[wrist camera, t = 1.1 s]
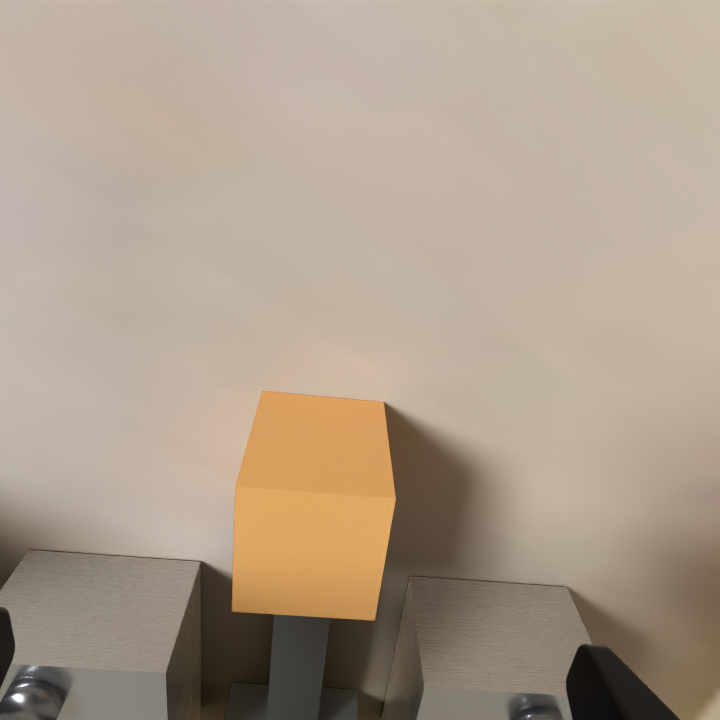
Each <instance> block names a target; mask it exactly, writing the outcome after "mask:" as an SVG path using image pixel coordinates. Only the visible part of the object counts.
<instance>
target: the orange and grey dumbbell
mask: <svg viewBox="0 0 720 720" xmlns="http://www.w3.org/2000/svg"><path fill="white" fill-rule="evenodd" d="M395 501H396V496H395V488H394V480H393V472H392V464H391V456H390V448H389V440H388V432H387V424H386V416H385V408H384V402H377V401H366V400H355V399H344V398H332V397H321V396H310V395H299V394H287V393H276V392H265V391H262V394H261V397H260V401H259V404H258V408H257V412H256V415H255V419H254V422H253V426H252V429H251V433H250V436H249V440H248V443H247V447H246V450H245V454H244V457H243V461H242V464H241V468H240V472H239V475H238V479H237V482H236V486H235V515H234V551H233V588H232V612H245V613H261V614H274V622H273V636H272V650H271V665H270V679H269V685H264V684H245V683H231V688H230V693H229V699H228V704H227V709H226V714H225V719H224V720H358V702H357V689H338V688H322V682H323V674H324V666H325V658H326V651H327V643H328V635H329V627H330V619H331V618H341V619H357V620H373V621H375V616H376V610H377V605H378V599H379V593H380V587H381V582H382V576H383V570H384V564H385V558H386V553H387V547H388V541H389V535H390V530H391V524H392V518H393V512H394V507H395Z"/></svg>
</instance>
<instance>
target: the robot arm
mask: <svg viewBox="0 0 720 720" xmlns="http://www.w3.org/2000/svg"><path fill="white" fill-rule="evenodd" d="M14 653H15V639H14V634H13V629H12V624H11V619H10V614H9V611H8V610H7V609H6V608H5V607H0V689H1V686H2V684H3V682H4V679H5V677H6V675H7V672H8V670H9V667H10V665H11V663H12V660H13V657H14ZM566 692H567V697H568V702H569V706H570V711H571V716H572V720H680V719H679V718H678V717H677V716H676V715H675V714H674V713H673V712H672V711H671V710H670V709H669V708H668V707H667V706H666V705H665V704H664V703H663V702H662V701H661V700H660V699H659V698H658V697H657V696H656V695H655V694H654V693H653V692H652V691H651V690H650V689H649V688H648V687H647V686H646V685H645V684H644V683H643V681H642V680H641V679H640V678H639V677H638V676H637V675H636V674H635V673H634V672H633V671H632V670H631V669H630V668H629V667H628V666H627V665H626V664H625V663H624V662H623V661H622V660H621V659H620V658H619V657H618V656H617V655H616V654H615V653H614V652H613V651H612V650H611V649H609V648H608V647H607V646H604V645H599V644H581V645H580V646H579V647H578V649H577V651H576V654H575V656H574V659H573V661H572V664H571V666H570V669H569V671H568V674H567V678H566Z"/></svg>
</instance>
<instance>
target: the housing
mask: <svg viewBox="0 0 720 720" xmlns="http://www.w3.org/2000/svg"><path fill="white" fill-rule="evenodd" d="M0 607H5V608H6V609H7V610H8V611H9V614H10V619H11V624H12V629H13V634H14V639H15V653H14V657H13V660H12V663H11V665H10V667H9V670H8V672H7V675H6V677H5V679H4V682H3V684H2V686H1V689H0V720H199V716H200V712H201V562H197V561H183V560H168V559H154V558H139V557H125V556H110V555H96V554H82V553H67V552H53V551H38V550H28V552H27V553H26V555H25V556H24V557H23V559H22V560H21V562H20V563H19V565H18V566H17V567H16V569H15V570H14V572H13V573H12V575H11V576H10V577H9V579H8V580H7V582H6V583H5V585H4V586H3V587H2V589H1V590H0ZM581 644H592V641H591V639H590V637H589V635H588V633H587V630H586V628H585V626H584V624H583V621H582V619H581V617H580V615H579V613H578V610H577V608H576V606H575V604H574V601H573V599H572V597H571V595H570V593H569V590H568V588H567V587H558V586H543V585H529V584H515V583H500V582H486V581H471V580H457V579H442V578H428V577H414V576H410V577H409V582H408V587H407V592H406V597H405V602H404V607H403V612H402V617H401V622H400V627H399V632H398V637H397V642H396V647H395V652H394V657H393V662H392V667H391V672H390V677H389V682H388V687H387V692H386V697H385V702H384V707H383V712H382V717H381V720H572V716H571V711H570V706H569V702H568V697H567V692H566V678H567V674H568V671H569V669H570V666H571V664H572V661H573V659H574V656H575V654H576V651H577V649H578V647H579V646H580V645H581Z"/></svg>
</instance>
